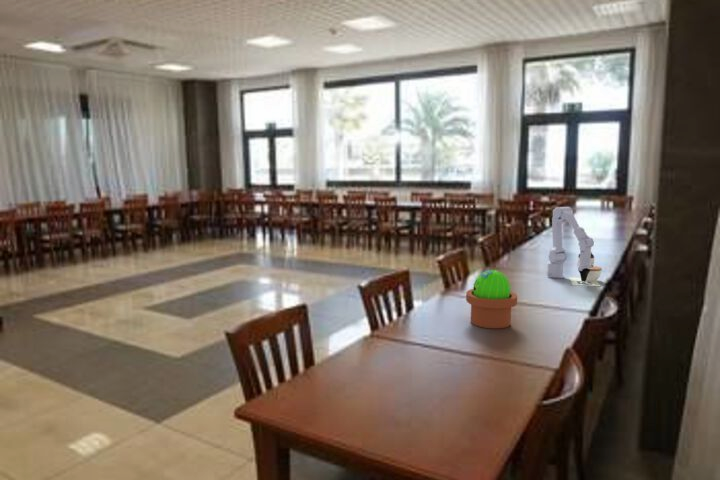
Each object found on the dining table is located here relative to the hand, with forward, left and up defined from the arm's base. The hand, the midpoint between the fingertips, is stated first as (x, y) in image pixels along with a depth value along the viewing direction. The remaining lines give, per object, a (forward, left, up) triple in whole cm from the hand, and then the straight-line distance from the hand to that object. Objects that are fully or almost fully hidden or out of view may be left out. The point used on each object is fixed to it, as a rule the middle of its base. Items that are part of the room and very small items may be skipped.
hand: (583, 280), depth 313 cm
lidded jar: (+6, +10, -2) cm, 12 cm away
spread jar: (+9, +50, -2) cm, 51 cm away
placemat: (+1, +5, -2) cm, 5 cm away
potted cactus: (-53, -91, -2) cm, 105 cm away
